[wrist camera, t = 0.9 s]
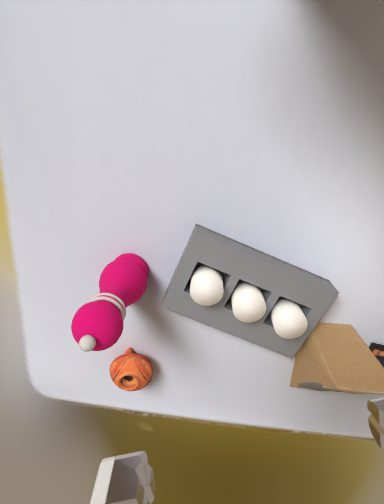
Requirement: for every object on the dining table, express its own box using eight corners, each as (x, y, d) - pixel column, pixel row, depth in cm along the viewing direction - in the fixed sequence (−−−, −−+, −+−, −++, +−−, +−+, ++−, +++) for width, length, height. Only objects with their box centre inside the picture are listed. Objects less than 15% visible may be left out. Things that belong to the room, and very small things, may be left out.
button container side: (278, 292, 48) (284, 306, 44) (305, 303, 48) (314, 318, 45) (263, 316, 50) (268, 331, 46) (290, 327, 50) (296, 343, 46)
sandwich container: (288, 386, 58) (312, 465, 44) (303, 320, 52) (336, 387, 39) (332, 390, 58) (370, 471, 44) (352, 324, 52) (403, 393, 38)
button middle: (239, 276, 47) (241, 289, 43) (267, 288, 48) (272, 301, 44) (225, 300, 49) (226, 315, 45) (252, 312, 50) (256, 327, 46)
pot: (105, 350, 57) (100, 373, 51) (143, 335, 57) (143, 356, 51) (121, 382, 59) (118, 408, 53) (157, 368, 60) (159, 391, 53)
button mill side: (198, 259, 47) (197, 271, 43) (227, 271, 47) (229, 283, 43) (186, 285, 48) (184, 298, 45) (214, 296, 49) (215, 310, 45)
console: (196, 223, 47) (195, 231, 43) (329, 280, 49) (339, 292, 45) (163, 296, 52) (159, 309, 48) (285, 345, 54) (290, 360, 51)
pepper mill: (118, 292, 52) (68, 379, 34) (103, 255, 50) (39, 327, 31) (157, 283, 51) (127, 368, 33) (143, 245, 49) (102, 313, 30)
